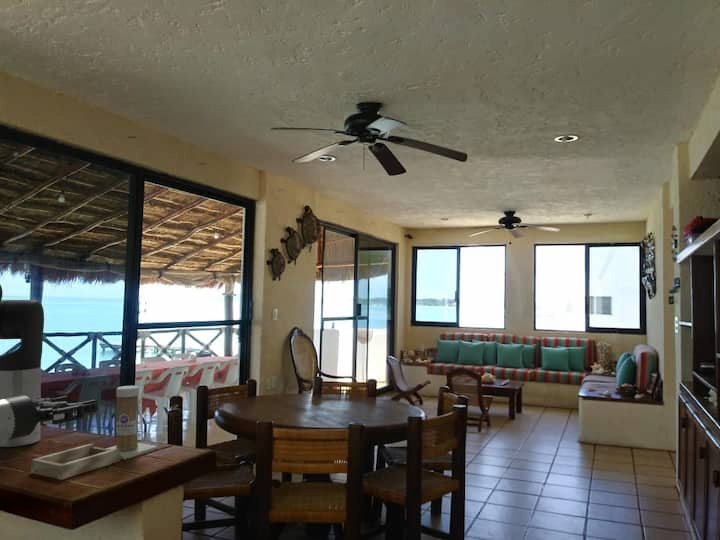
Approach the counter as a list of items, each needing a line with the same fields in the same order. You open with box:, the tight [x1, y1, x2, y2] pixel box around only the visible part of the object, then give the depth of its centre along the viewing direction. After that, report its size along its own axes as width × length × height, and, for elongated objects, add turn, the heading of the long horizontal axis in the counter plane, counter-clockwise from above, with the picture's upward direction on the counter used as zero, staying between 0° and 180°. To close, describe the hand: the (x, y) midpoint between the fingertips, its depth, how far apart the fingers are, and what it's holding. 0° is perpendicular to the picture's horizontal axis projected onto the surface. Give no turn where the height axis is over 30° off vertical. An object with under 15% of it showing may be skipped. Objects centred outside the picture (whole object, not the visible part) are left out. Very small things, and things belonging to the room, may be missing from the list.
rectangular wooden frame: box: [30, 443, 121, 481], centre depth 114 cm, size 13×9×2 cm
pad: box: [105, 442, 159, 460], centre depth 124 cm, size 9×9×1 cm
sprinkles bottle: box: [115, 385, 140, 451], centre depth 124 cm, size 5×5×13 cm
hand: (82, 403), depth 115 cm, fingers open, 8 cm apart
